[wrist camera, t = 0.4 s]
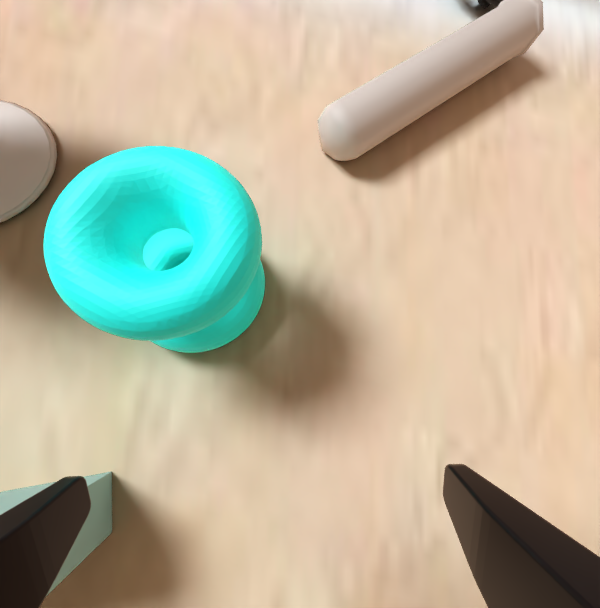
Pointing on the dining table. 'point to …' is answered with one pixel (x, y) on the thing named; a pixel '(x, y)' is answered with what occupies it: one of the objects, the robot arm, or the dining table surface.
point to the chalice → (23, 158)
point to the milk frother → (486, 0)
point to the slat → (93, 528)
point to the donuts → (158, 249)
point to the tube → (427, 79)
